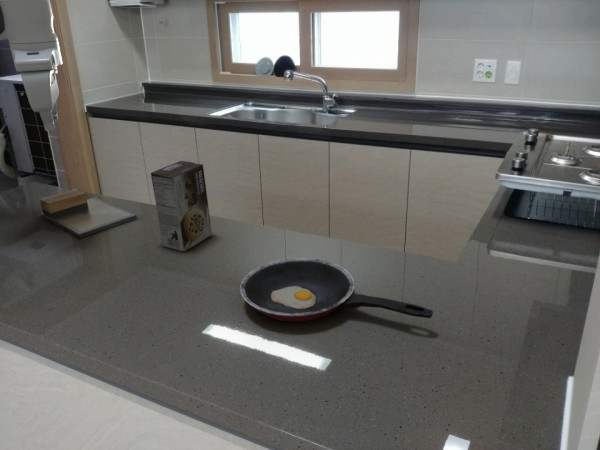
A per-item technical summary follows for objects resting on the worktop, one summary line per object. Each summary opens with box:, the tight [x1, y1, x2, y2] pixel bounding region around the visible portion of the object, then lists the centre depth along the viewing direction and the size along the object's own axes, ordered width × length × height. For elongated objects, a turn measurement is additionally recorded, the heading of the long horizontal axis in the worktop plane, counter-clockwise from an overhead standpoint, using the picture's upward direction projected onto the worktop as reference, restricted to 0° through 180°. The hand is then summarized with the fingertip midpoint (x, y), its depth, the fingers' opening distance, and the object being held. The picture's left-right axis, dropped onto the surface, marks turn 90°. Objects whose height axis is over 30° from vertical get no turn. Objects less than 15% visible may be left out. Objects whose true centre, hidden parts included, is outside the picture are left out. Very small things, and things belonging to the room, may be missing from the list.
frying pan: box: [239, 257, 434, 323], centre depth 86 cm, size 19×32×4 cm, turn 61°
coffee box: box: [150, 160, 213, 252], centre depth 110 cm, size 9×6×16 cm
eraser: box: [39, 188, 88, 219], centre depth 129 cm, size 5×9×4 cm, turn 137°
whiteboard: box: [40, 196, 137, 239], centre depth 128 cm, size 20×14×1 cm
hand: (52, 125), depth 113 cm, fingers open, 8 cm apart
